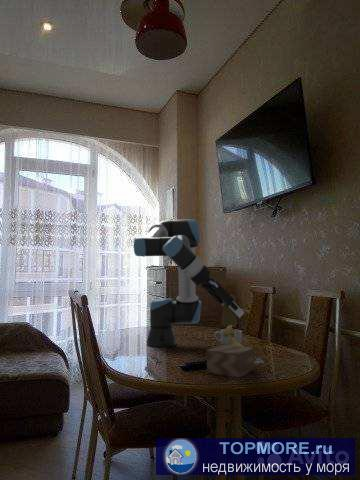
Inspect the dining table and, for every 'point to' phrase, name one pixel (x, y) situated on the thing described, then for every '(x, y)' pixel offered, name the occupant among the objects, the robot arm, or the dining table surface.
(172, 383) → the dining table surface
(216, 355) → the walnut block
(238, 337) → the teacup
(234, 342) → the stuffed giraffe
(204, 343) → the dining table surface
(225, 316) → the cork
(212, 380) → the dining table surface
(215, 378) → the dining table surface
